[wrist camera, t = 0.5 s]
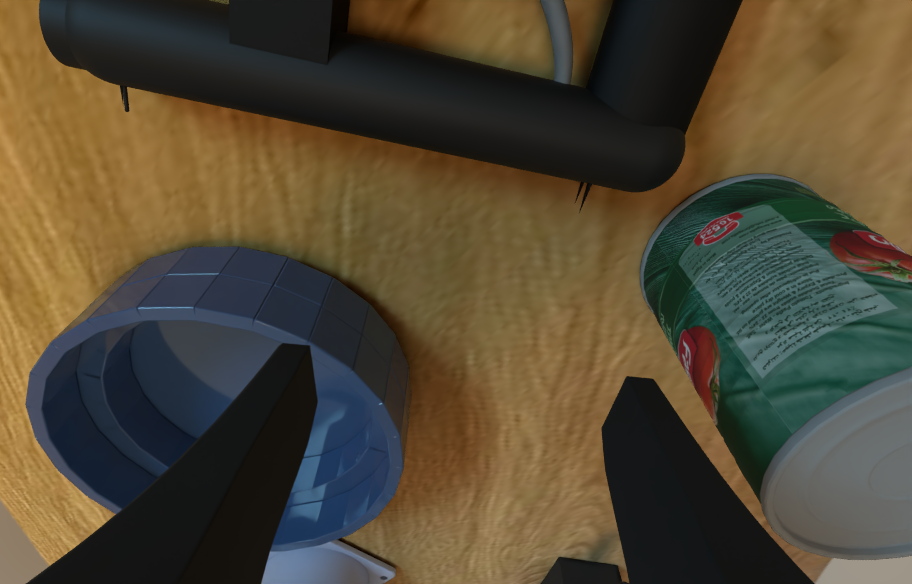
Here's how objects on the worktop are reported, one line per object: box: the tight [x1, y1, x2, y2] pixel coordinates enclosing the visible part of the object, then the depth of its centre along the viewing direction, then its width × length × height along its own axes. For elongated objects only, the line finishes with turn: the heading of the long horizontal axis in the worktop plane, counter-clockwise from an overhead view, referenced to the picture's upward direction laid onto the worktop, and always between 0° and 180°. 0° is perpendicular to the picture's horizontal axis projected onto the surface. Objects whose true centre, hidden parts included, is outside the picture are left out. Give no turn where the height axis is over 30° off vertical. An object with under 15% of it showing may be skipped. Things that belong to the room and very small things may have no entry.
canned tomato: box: [640, 174, 912, 560], centre depth 17 cm, size 8×8×11 cm
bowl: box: [26, 247, 411, 552], centre depth 24 cm, size 15×15×5 cm
